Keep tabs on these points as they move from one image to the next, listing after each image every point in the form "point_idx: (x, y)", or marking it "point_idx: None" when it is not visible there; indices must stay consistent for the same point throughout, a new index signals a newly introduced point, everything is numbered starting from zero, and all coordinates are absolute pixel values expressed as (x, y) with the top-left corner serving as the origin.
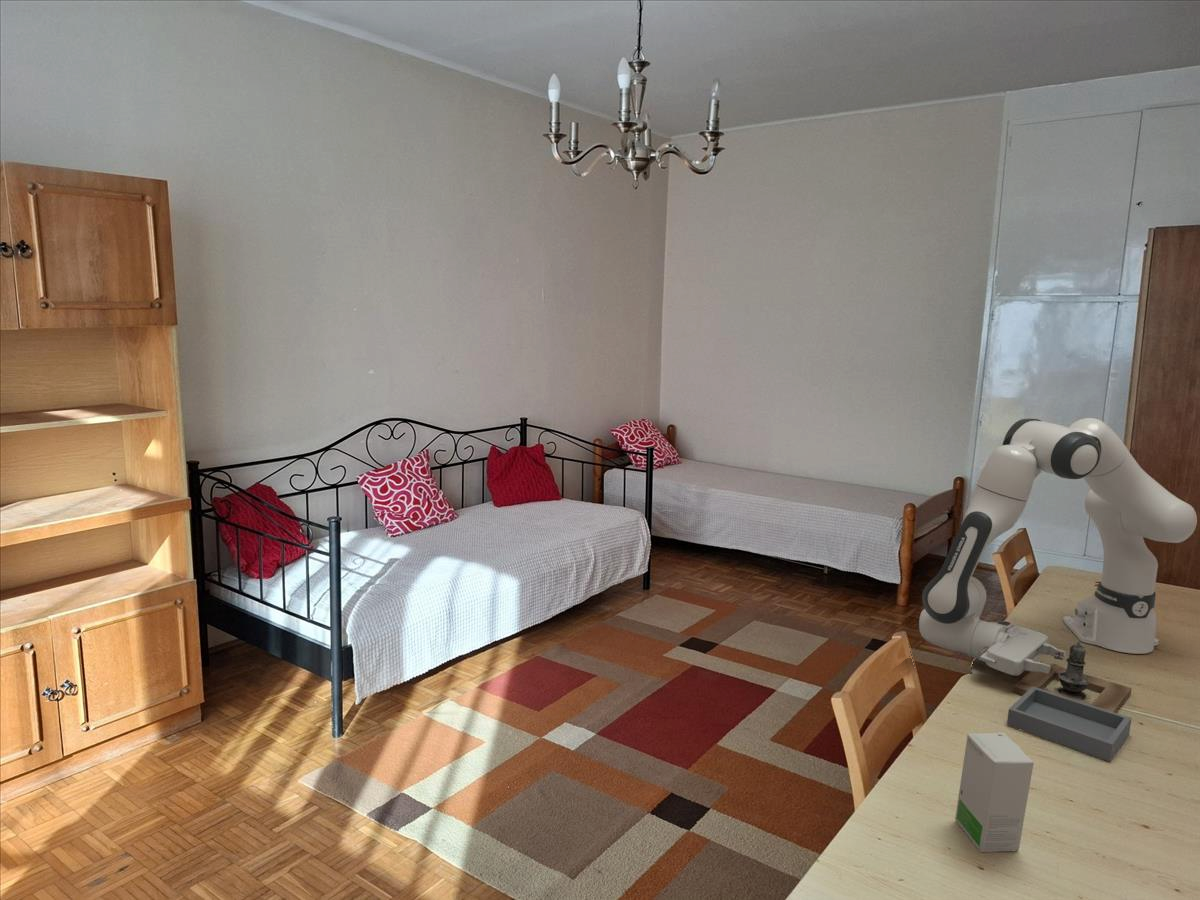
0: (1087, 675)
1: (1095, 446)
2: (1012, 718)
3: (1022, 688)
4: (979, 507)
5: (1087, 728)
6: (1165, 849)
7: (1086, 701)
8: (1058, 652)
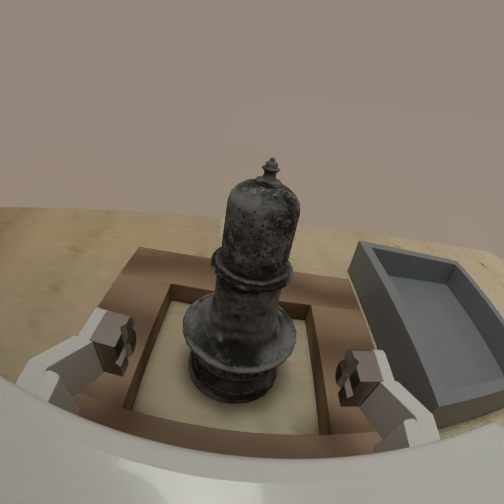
0: None
1: None
2: None
3: None
4: None
5: (414, 307)
6: (485, 257)
7: (313, 314)
8: (122, 334)
